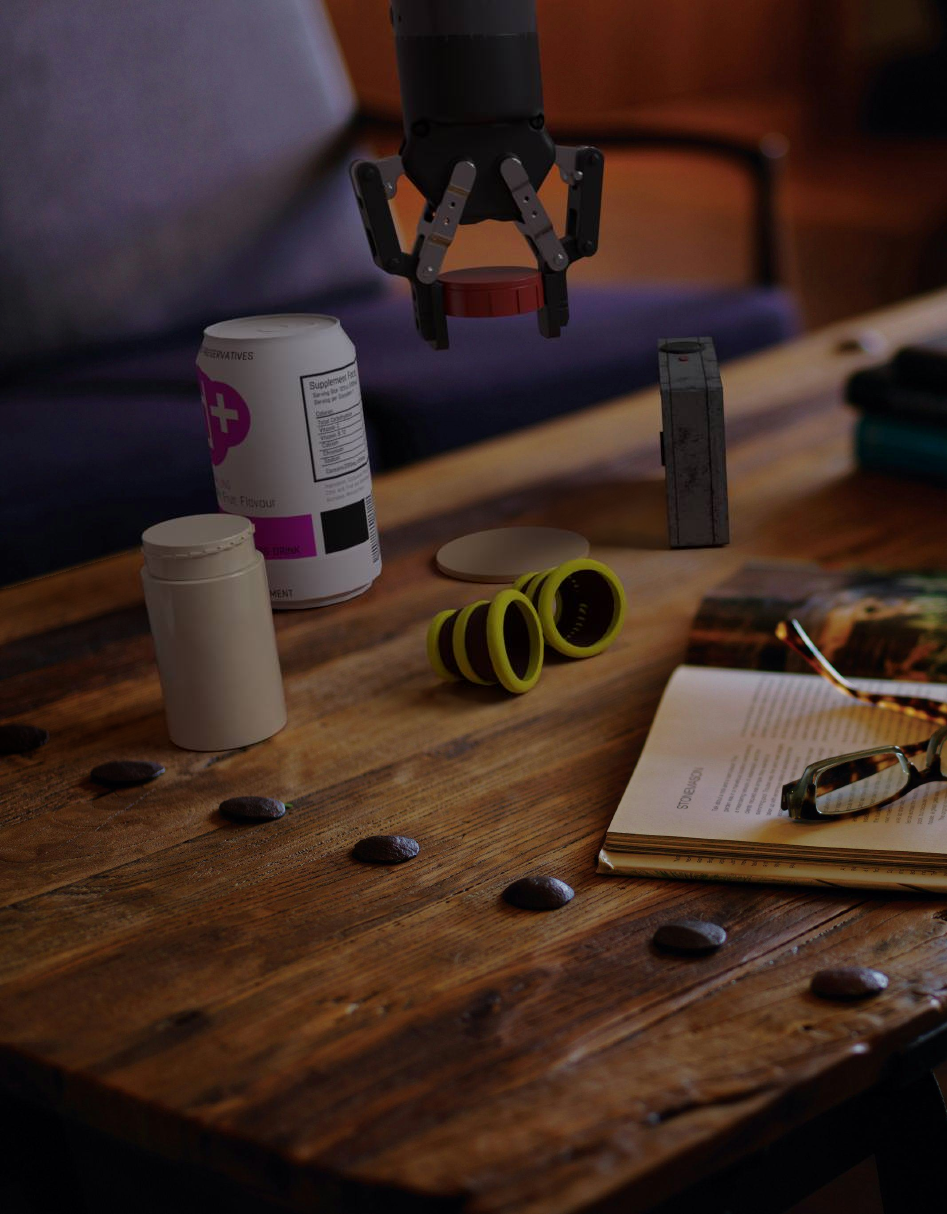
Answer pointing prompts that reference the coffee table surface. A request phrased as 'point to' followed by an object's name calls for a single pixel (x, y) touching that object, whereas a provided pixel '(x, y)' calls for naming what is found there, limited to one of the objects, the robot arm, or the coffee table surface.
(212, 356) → the supplement can
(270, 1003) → the coffee table surface
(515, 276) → the jar lid
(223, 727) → the jar
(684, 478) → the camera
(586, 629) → the opera glasses
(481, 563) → the coaster
